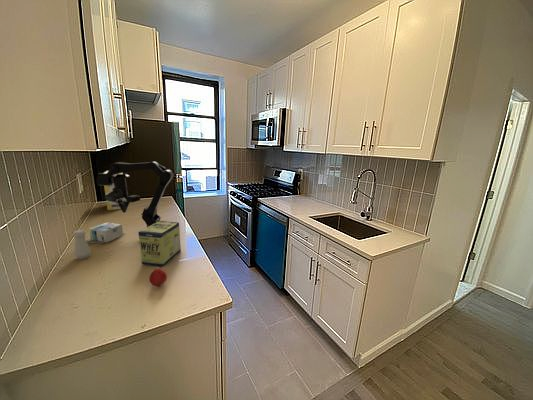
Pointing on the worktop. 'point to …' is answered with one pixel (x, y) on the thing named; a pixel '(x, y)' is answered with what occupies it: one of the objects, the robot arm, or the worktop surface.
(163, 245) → the protein box
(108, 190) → the pasta box
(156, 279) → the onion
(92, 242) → the mat
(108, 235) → the light bulb box
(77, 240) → the salt shaker
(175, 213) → the worktop surface
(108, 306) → the worktop surface
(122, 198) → the robot arm
